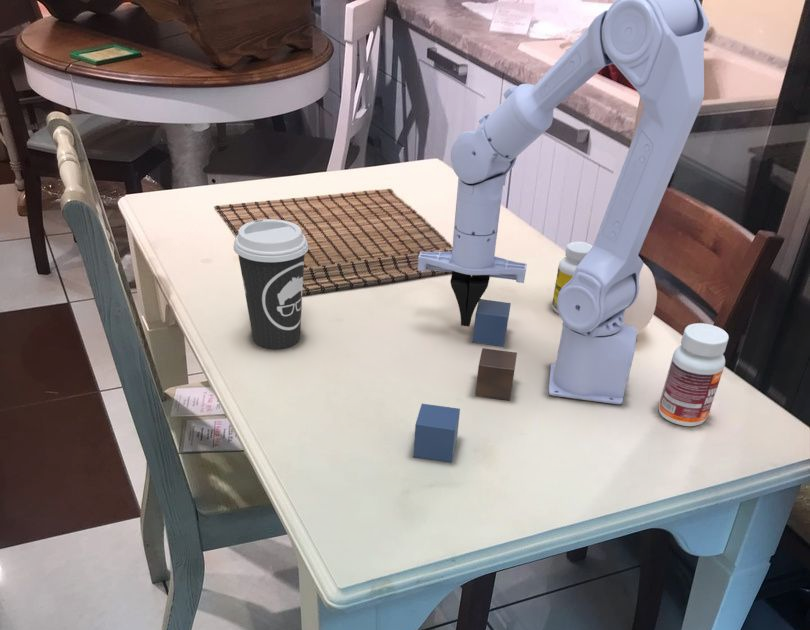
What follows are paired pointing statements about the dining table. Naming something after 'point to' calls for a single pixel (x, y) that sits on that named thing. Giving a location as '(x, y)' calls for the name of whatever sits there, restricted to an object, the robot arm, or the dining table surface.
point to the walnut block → (495, 374)
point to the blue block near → (436, 432)
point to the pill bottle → (694, 375)
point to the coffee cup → (272, 279)
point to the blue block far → (491, 322)
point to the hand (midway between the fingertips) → (465, 323)
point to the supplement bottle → (569, 266)
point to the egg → (642, 302)
